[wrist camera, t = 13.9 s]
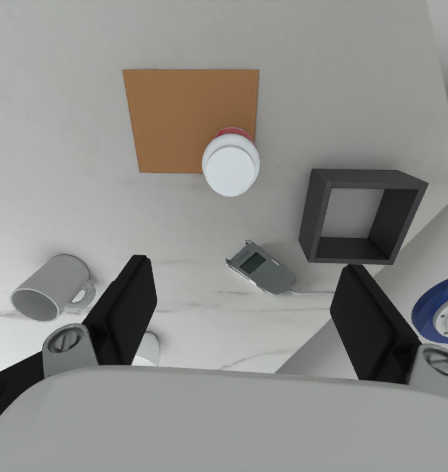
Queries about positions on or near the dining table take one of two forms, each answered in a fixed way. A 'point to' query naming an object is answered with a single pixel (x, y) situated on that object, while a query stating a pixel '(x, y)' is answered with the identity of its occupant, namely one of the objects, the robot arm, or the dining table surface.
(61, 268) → the cup
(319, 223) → the bin
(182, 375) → the robot arm
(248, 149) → the pill bottle
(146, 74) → the cork mat
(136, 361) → the cup
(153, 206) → the dining table surface
